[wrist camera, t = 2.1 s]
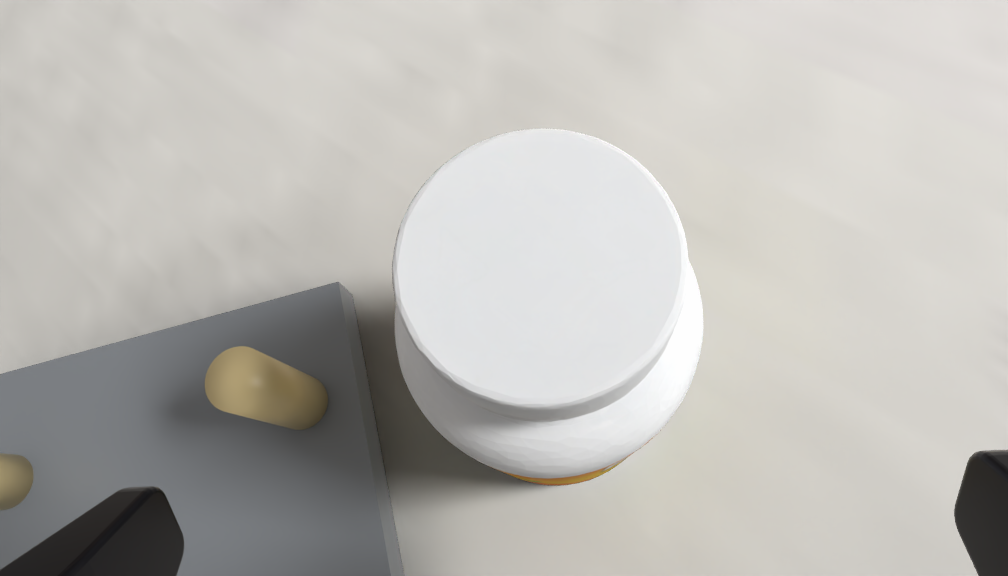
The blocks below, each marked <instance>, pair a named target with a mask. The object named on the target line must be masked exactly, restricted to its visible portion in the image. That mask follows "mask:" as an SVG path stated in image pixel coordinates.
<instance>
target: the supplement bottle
mask: <svg viewBox="0 0 1008 576" xmlns="http://www.w3.org/2000/svg"><path fill="white" fill-rule="evenodd" d="M392 281H393V289H394V296H395V301H396V308H395V340H396V348H397V354H398V359H399V363H400V367H401V371H402V374H403V377H404V380H405V382H406V384H407V386H408V389H409V391H410V393H411V395H412V396H413V398H414V400H415V402H416V403H417V405H418V406H419V408H420V409H421V411H422V413H423V414H424V415H425V417H426V418H427V419H428V420H429V422H430V423H431V424H432V425H433V426H434V428H435V429H436V430H437V431H438V432H439V433H440V434H441V435H442V436H443V437H444V438H446V439H447V440H448V441H449V442H450V443H451V444H453V445H454V446H456V447H457V448H458V449H460V450H461V451H462V452H464V453H465V454H467V455H468V456H470V457H472V458H473V459H475V460H477V461H479V462H481V463H483V464H485V465H487V466H489V467H491V468H494V469H496V470H499V471H501V472H503V473H506V474H508V475H511V476H513V477H515V478H518V479H521V480H524V481H528V482H532V483H537V484H542V485H569V484H575V483H580V482H584V481H588V480H590V479H593V478H595V477H598V476H600V475H602V474H604V473H606V472H608V471H610V470H611V469H613V468H614V467H615V466H617V465H618V464H620V463H621V462H622V461H623V460H625V459H626V458H627V457H628V456H630V455H631V454H633V453H634V452H635V451H637V450H639V449H640V448H641V447H643V446H644V445H645V444H646V443H648V442H649V441H650V440H651V439H652V438H653V437H654V436H656V435H657V434H658V433H659V432H660V431H661V429H662V428H663V427H664V426H665V425H666V424H667V422H668V421H669V420H670V418H671V417H672V415H673V414H674V413H675V411H676V410H677V409H678V407H679V405H680V404H681V402H682V400H683V399H684V397H685V395H686V393H687V391H688V389H689V387H690V385H691V382H692V379H693V377H694V374H695V371H696V367H697V364H698V360H699V357H700V352H701V346H702V340H703V308H702V301H701V296H700V290H699V286H698V283H697V280H696V277H695V273H694V271H693V268H692V266H691V264H690V262H689V260H688V249H687V244H686V238H685V233H684V230H683V227H682V224H681V221H680V218H679V216H678V213H677V211H676V209H675V207H674V205H673V203H672V202H671V200H670V198H669V197H668V195H667V193H666V192H665V190H664V189H663V188H662V186H661V185H660V184H659V183H658V181H657V180H656V179H655V178H654V177H653V176H652V174H651V173H650V172H649V171H648V170H647V169H646V168H645V167H643V166H642V165H641V164H640V163H639V162H638V161H637V160H636V159H634V158H633V157H631V156H630V155H628V154H627V153H626V152H624V151H623V150H621V149H619V148H617V147H615V146H614V145H612V144H610V143H608V142H606V141H603V140H601V139H598V138H596V137H593V136H589V135H586V134H582V133H577V132H573V131H569V130H560V129H541V128H535V129H525V130H518V131H513V132H509V133H504V134H500V135H496V136H494V137H491V138H489V139H486V140H483V141H481V142H479V143H476V144H474V145H472V146H470V147H469V148H467V149H465V150H463V151H461V152H460V153H459V154H457V155H456V156H454V157H453V158H451V159H450V160H449V161H447V162H446V163H445V164H444V165H442V166H441V167H440V168H439V169H438V170H436V171H435V172H434V174H433V175H432V176H431V177H430V178H429V179H428V180H427V181H426V182H425V183H424V185H423V186H422V187H421V189H420V190H419V191H418V193H417V194H416V196H415V197H414V199H413V200H412V202H411V203H410V205H409V207H408V209H407V211H406V214H405V216H404V218H403V220H402V222H401V225H400V228H399V231H398V235H397V239H396V243H395V248H394V255H393V262H392Z"/></svg>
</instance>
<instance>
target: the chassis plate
mask: <svg viewBox="0 0 1008 576" xmlns="http://www.w3.org/2000/svg"><path fill="white" fill-rule="evenodd" d="M146 486H154V487H158V488H160V489H161V490H162V491H163V492H164V493H165V495H166V497H167V499H168V502H169V504H170V506H171V508H172V511H173V513H174V515H175V517H176V519H177V522H178V524H179V526H180V528H181V531H182V533H183V537H184V553H183V557H182V561H181V564H180V567H179V570H178V573H177V576H404V572H403V566H402V561H401V555H400V550H399V545H398V539H397V534H396V528H395V523H394V518H393V512H392V507H391V501H390V496H389V491H388V485H387V480H386V474H385V469H384V464H383V458H382V453H381V447H380V442H379V437H378V431H377V426H376V420H375V415H374V410H373V404H372V399H371V393H370V388H369V383H368V377H367V372H366V366H365V361H364V356H363V350H362V345H361V339H360V334H359V329H358V323H357V318H356V312H355V307H354V302H353V296H352V294H351V293H350V292H349V291H348V290H347V289H346V288H344V287H343V286H342V285H341V284H340V283H339V282H336V283H332V284H329V285H325V286H321V287H318V288H314V289H310V290H307V291H303V292H299V293H296V294H292V295H288V296H285V297H281V298H277V299H274V300H270V301H266V302H263V303H259V304H255V305H252V306H248V307H244V308H241V309H237V310H233V311H230V312H226V313H222V314H219V315H215V316H211V317H208V318H204V319H200V320H197V321H193V322H189V323H186V324H182V325H178V326H175V327H171V328H167V329H164V330H160V331H157V332H153V333H149V334H146V335H142V336H138V337H135V338H131V339H127V340H124V341H120V342H116V343H113V344H109V345H105V346H102V347H98V348H94V349H91V350H87V351H83V352H80V353H76V354H72V355H69V356H65V357H61V358H58V359H54V360H50V361H47V362H43V363H39V364H36V365H32V366H28V367H25V368H21V369H17V370H14V371H10V372H6V373H3V374H0V569H2V568H3V567H5V566H6V565H8V564H9V563H11V562H12V561H14V560H15V559H17V558H18V557H19V556H21V555H22V554H24V553H25V552H27V551H28V550H30V549H31V548H33V547H34V546H36V545H37V544H39V543H40V542H42V541H43V540H45V539H46V538H48V537H49V536H51V535H52V534H54V533H55V532H57V531H58V530H60V529H61V528H63V527H64V526H66V525H67V524H69V523H70V522H72V521H73V520H75V519H76V518H78V517H79V516H81V515H82V514H84V513H85V512H87V511H88V510H90V509H91V508H93V507H94V506H96V505H97V504H99V503H100V502H102V501H103V500H105V499H106V498H108V497H109V496H111V495H112V494H114V493H115V492H117V491H118V490H120V489H123V488H128V487H146Z"/></svg>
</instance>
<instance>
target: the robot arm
mask: <svg viewBox="0 0 1008 576" xmlns="http://www.w3.org/2000/svg"><path fill="white" fill-rule="evenodd" d="M954 516H955V522H956V526H957V529H958V532H959V534H960V536H961V539H962V541H963V543H964V545H965V547H966V549H967V552H968V554H969V556H970V558H971V560H972V562H973V565H974V567H975V569H976V571H977V573H978V575H979V576H1008V450H991V451H979V452H976V453H974V454H973V455H972V456H971V457H970V458H969V460H968V463H967V466H966V470H965V473H964V476H963V480H962V483H961V487H960V490H959V494H958V497H957V500H956V504H955V510H954ZM183 553H184V537H183V533H182V531H181V528H180V526H179V524H178V522H177V519H176V517H175V515H174V513H173V511H172V508H171V506H170V504H169V502H168V499H167V497H166V495H165V493H164V492H163V491H162V490H161V489H160V488H158V487H154V486H146V487H128V488H123V489H120V490H118V491H117V492H115V493H114V494H112V495H111V496H109V497H108V498H106V499H105V500H103V501H102V502H100V503H99V504H97V505H96V506H94V507H93V508H91V509H90V510H88V511H87V512H85V513H84V514H82V515H81V516H79V517H78V518H76V519H75V520H73V521H72V522H70V523H69V524H67V525H66V526H64V527H63V528H61V529H60V530H58V531H57V532H55V533H54V534H52V535H51V536H49V537H48V538H46V539H45V540H43V541H42V542H40V543H39V544H37V545H36V546H34V547H33V548H31V549H30V550H28V551H27V552H25V553H24V554H22V555H21V556H19V557H18V558H17V559H15V560H14V561H12V562H11V563H9V564H8V565H6V566H5V567H3V568H2V569H0V576H177V573H178V570H179V567H180V564H181V561H182V557H183Z"/></svg>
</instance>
